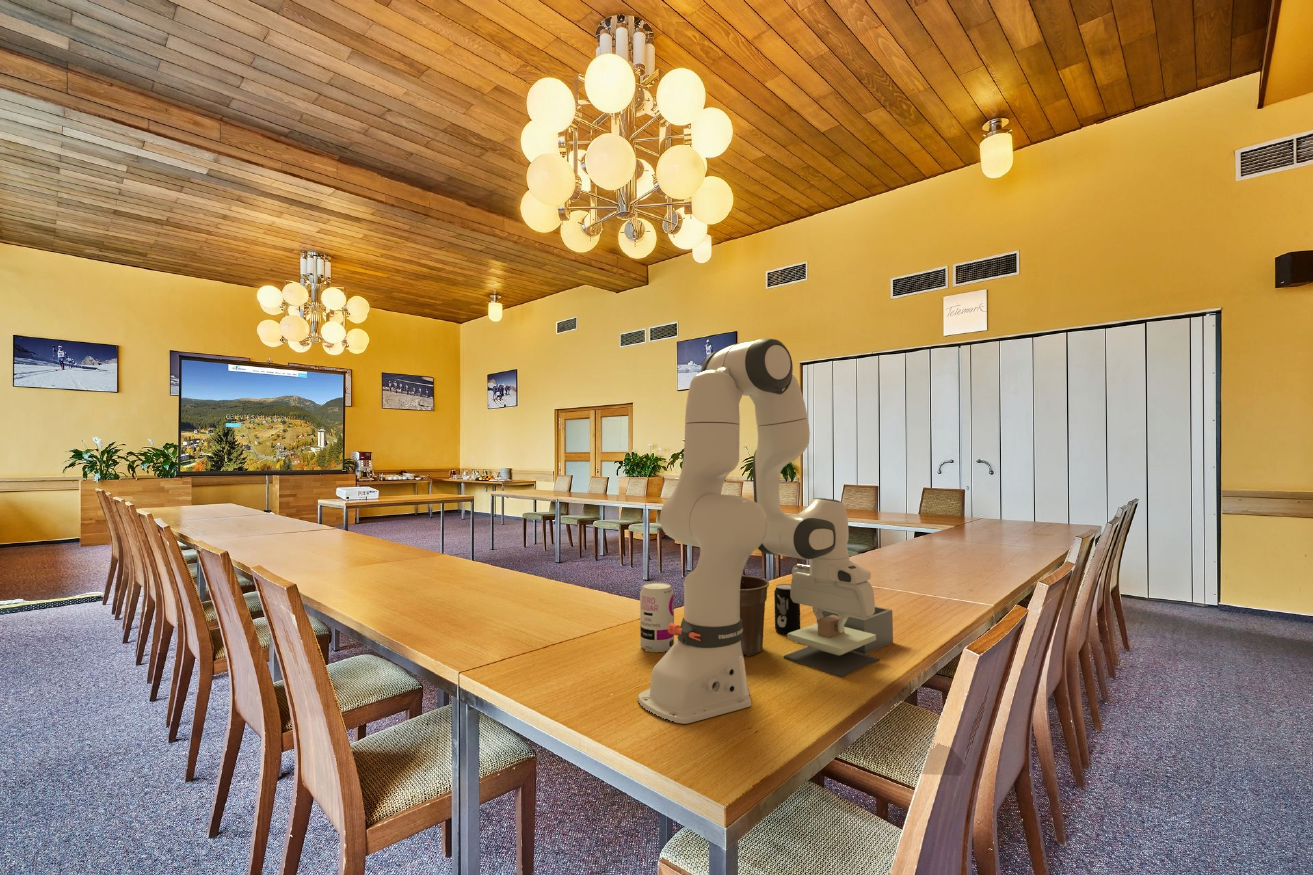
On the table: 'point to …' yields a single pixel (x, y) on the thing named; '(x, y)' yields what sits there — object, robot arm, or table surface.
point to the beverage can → (785, 610)
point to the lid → (831, 636)
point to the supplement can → (656, 616)
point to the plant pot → (752, 613)
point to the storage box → (871, 628)
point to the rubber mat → (832, 660)
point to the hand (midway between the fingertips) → (830, 629)
